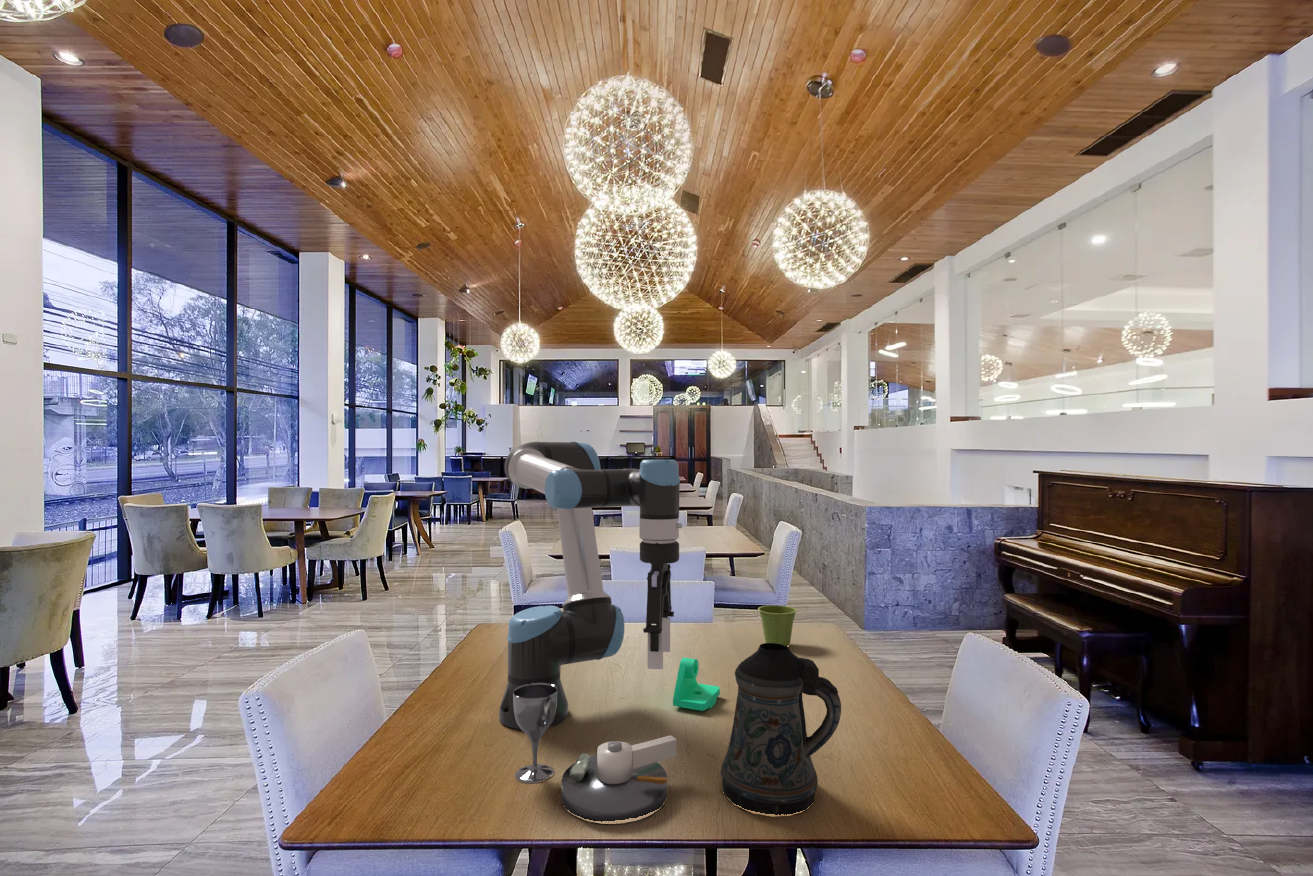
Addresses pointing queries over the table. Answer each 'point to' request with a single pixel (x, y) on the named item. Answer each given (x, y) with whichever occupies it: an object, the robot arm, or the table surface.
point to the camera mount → (693, 688)
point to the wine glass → (534, 723)
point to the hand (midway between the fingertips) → (659, 659)
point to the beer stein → (776, 732)
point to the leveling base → (612, 791)
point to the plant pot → (777, 623)
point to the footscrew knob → (631, 757)
